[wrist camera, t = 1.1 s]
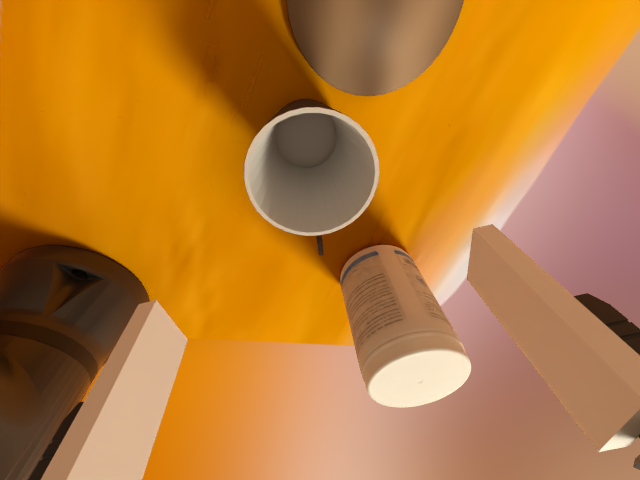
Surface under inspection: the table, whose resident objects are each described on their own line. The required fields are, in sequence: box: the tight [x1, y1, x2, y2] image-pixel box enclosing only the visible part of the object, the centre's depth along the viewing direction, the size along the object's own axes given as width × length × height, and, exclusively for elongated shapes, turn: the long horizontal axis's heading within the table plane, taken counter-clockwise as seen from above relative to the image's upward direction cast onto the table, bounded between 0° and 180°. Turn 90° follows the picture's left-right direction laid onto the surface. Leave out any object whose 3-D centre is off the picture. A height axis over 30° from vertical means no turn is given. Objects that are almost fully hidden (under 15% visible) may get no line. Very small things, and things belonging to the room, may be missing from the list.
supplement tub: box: [340, 245, 471, 407], centre depth 31 cm, size 10×10×15 cm
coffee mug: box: [244, 99, 379, 255], centre depth 23 cm, size 12×9×10 cm
